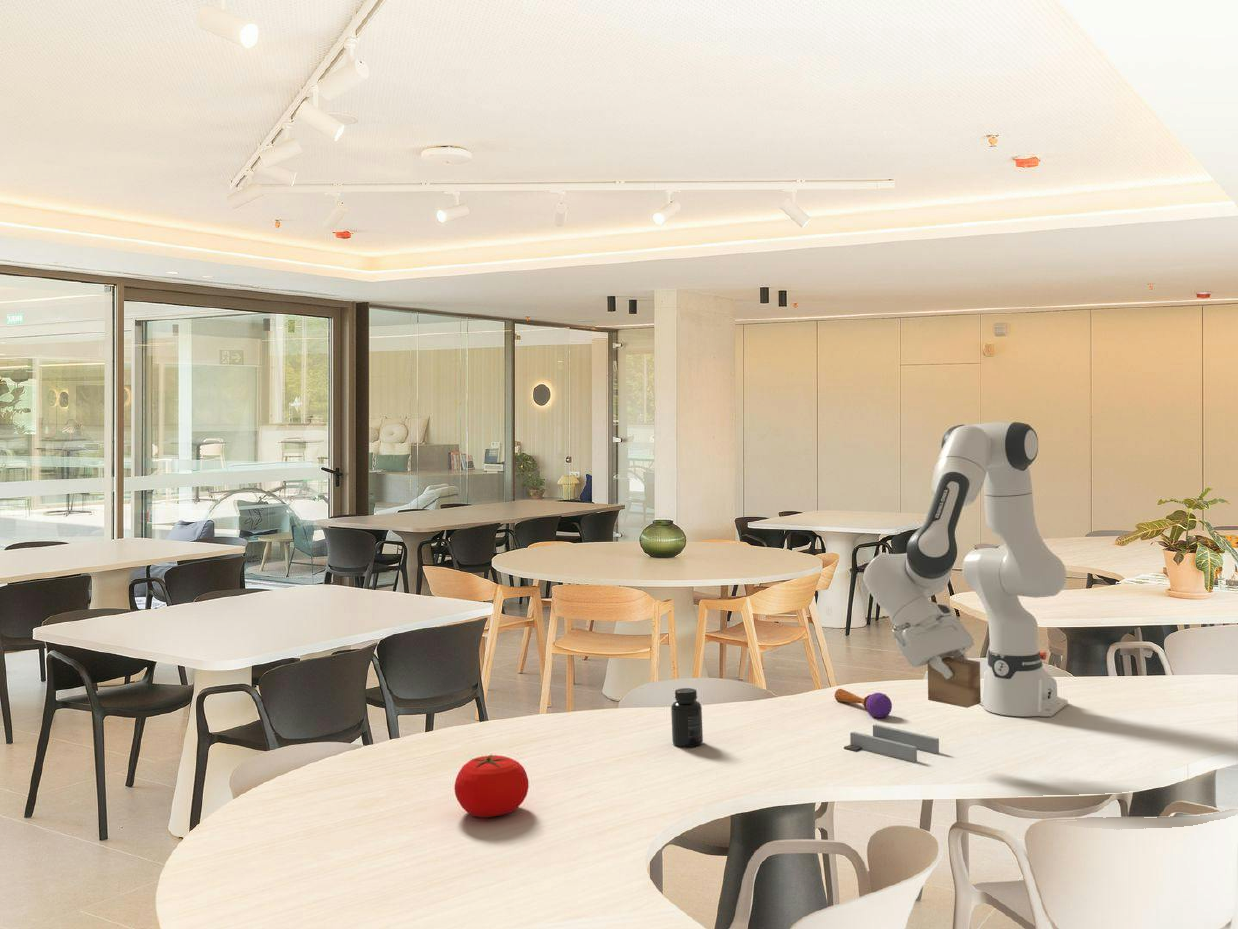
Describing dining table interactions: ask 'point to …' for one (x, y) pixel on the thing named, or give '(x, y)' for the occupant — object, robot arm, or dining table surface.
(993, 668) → the robot arm
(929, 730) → the dining table surface
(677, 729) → the supplement bottle
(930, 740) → the channel
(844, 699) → the purple maraca
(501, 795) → the tomato
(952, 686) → the block
